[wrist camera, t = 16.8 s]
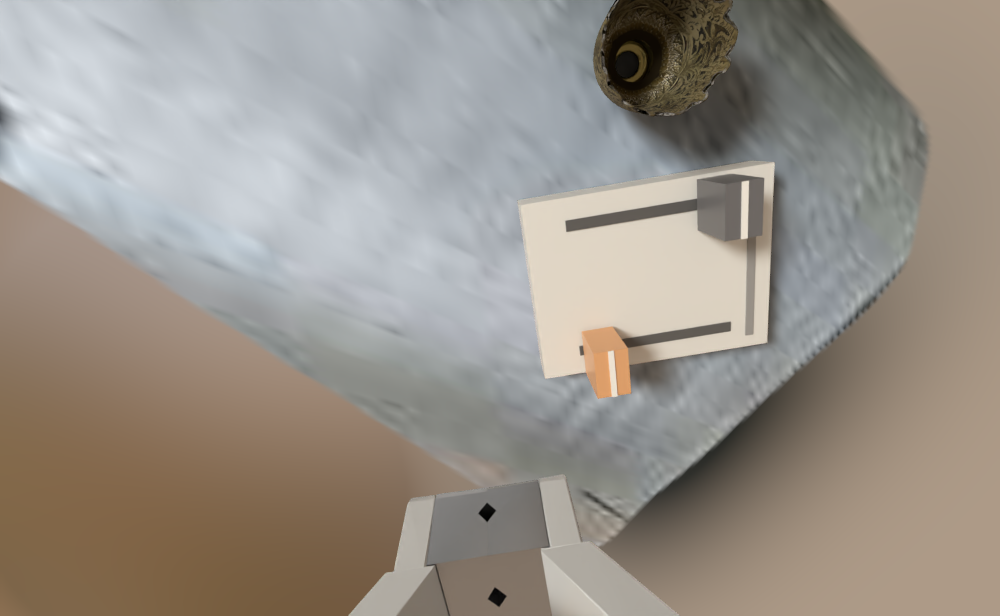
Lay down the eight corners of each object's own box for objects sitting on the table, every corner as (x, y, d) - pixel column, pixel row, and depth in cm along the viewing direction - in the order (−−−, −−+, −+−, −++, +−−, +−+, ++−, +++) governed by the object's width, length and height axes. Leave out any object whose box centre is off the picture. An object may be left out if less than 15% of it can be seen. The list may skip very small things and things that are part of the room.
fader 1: (581, 331, 36) (593, 354, 32) (612, 326, 36) (628, 348, 32) (585, 372, 37) (598, 399, 33) (615, 367, 37) (631, 393, 33)
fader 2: (696, 179, 32) (726, 184, 28) (731, 173, 32) (765, 177, 28) (697, 230, 33) (725, 241, 30) (730, 224, 33) (763, 235, 30)
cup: (619, -22, 31) (664, -75, 23) (700, 48, 33) (766, 21, 25) (553, 80, 33) (575, 62, 25) (633, 142, 35) (675, 142, 27)
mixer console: (517, 200, 36) (520, 205, 33) (750, 160, 35) (775, 162, 32) (540, 362, 40) (545, 379, 37) (746, 328, 40) (767, 343, 37)
